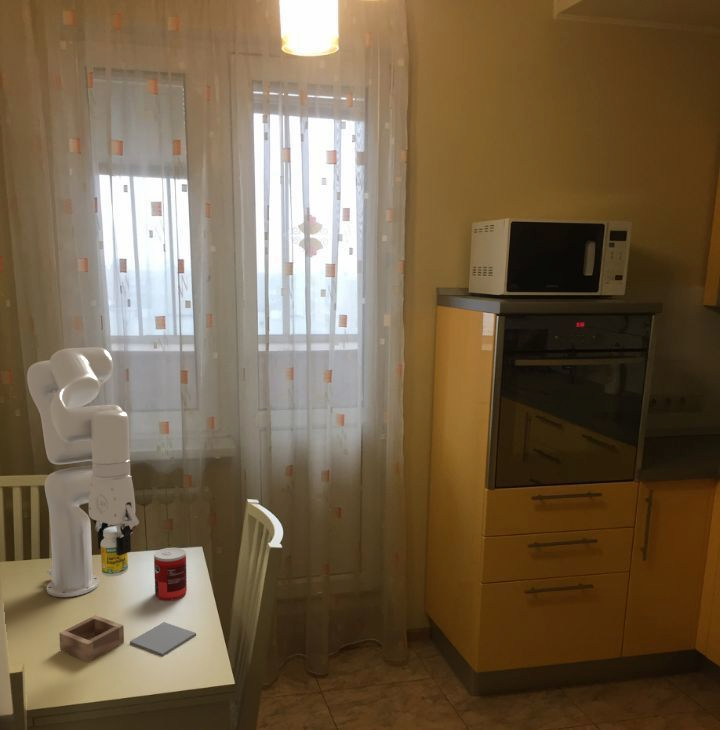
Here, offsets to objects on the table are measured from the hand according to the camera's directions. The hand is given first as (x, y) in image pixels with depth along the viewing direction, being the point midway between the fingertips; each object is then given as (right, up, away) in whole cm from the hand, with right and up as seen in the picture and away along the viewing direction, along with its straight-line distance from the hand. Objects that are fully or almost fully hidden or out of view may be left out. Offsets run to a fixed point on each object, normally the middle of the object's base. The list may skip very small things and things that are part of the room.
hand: (114, 549), depth 142 cm
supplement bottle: (0, -5, +1) cm, 5 cm away
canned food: (+5, -19, +27) cm, 33 cm away
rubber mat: (+9, -21, +4) cm, 24 cm away
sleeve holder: (-5, -21, +1) cm, 22 cm away
